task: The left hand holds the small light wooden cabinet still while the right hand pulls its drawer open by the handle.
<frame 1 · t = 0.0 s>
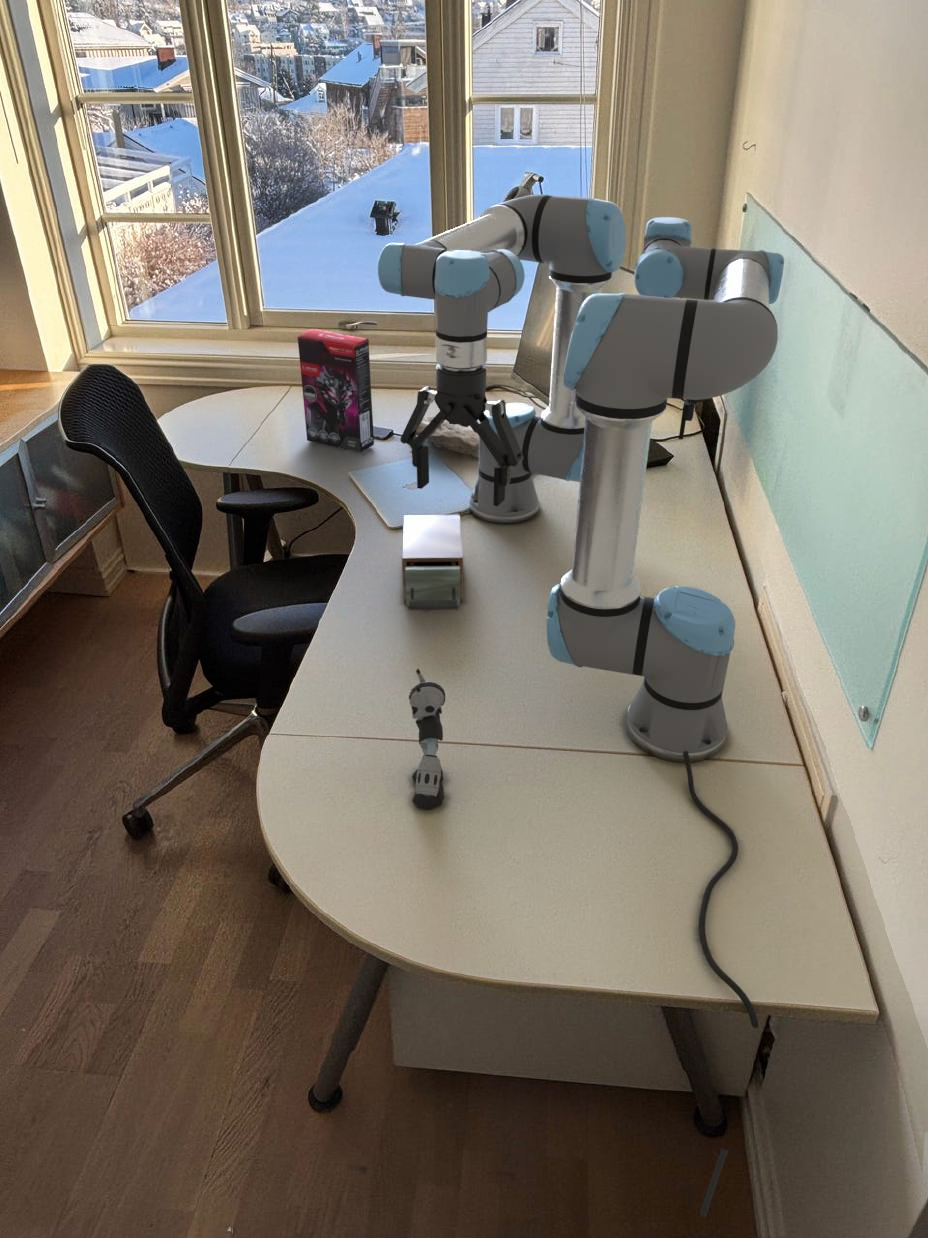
left hand: (460, 493, 148), 28 cm above the table, tool pointing down, fingers open, 13 cm apart
right hand: (643, 432, 170), 28 cm above the table, tool pointing down, fingers open, 13 cm apart
graphics card box: (340, 444, 234), on the table
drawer: (432, 574, 172), point 5 cm above the table, slide at 1.3 cm
stone: (448, 447, 233), on the table
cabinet: (432, 579, 180), on the table
robot: (428, 790, 132), on the table
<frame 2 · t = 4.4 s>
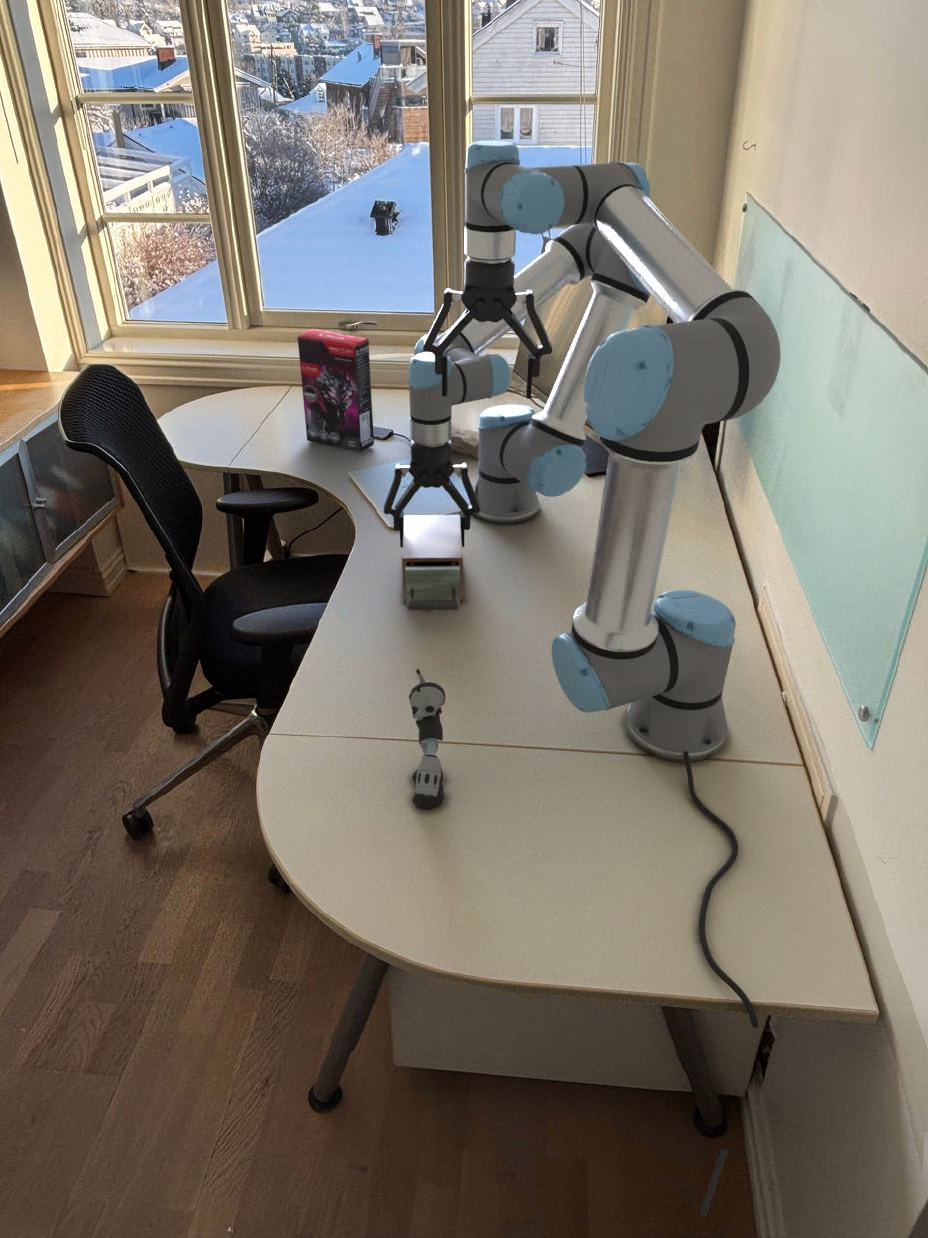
left hand: (432, 543, 182), 5 cm above the table, tool pointing down, fingers closed on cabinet, 11 cm apart
right hand: (486, 394, 150), 41 cm above the table, tool pointing down, fingers open, 13 cm apart
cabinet: (432, 579, 180), on the table, touching left hand
everything else where it was.
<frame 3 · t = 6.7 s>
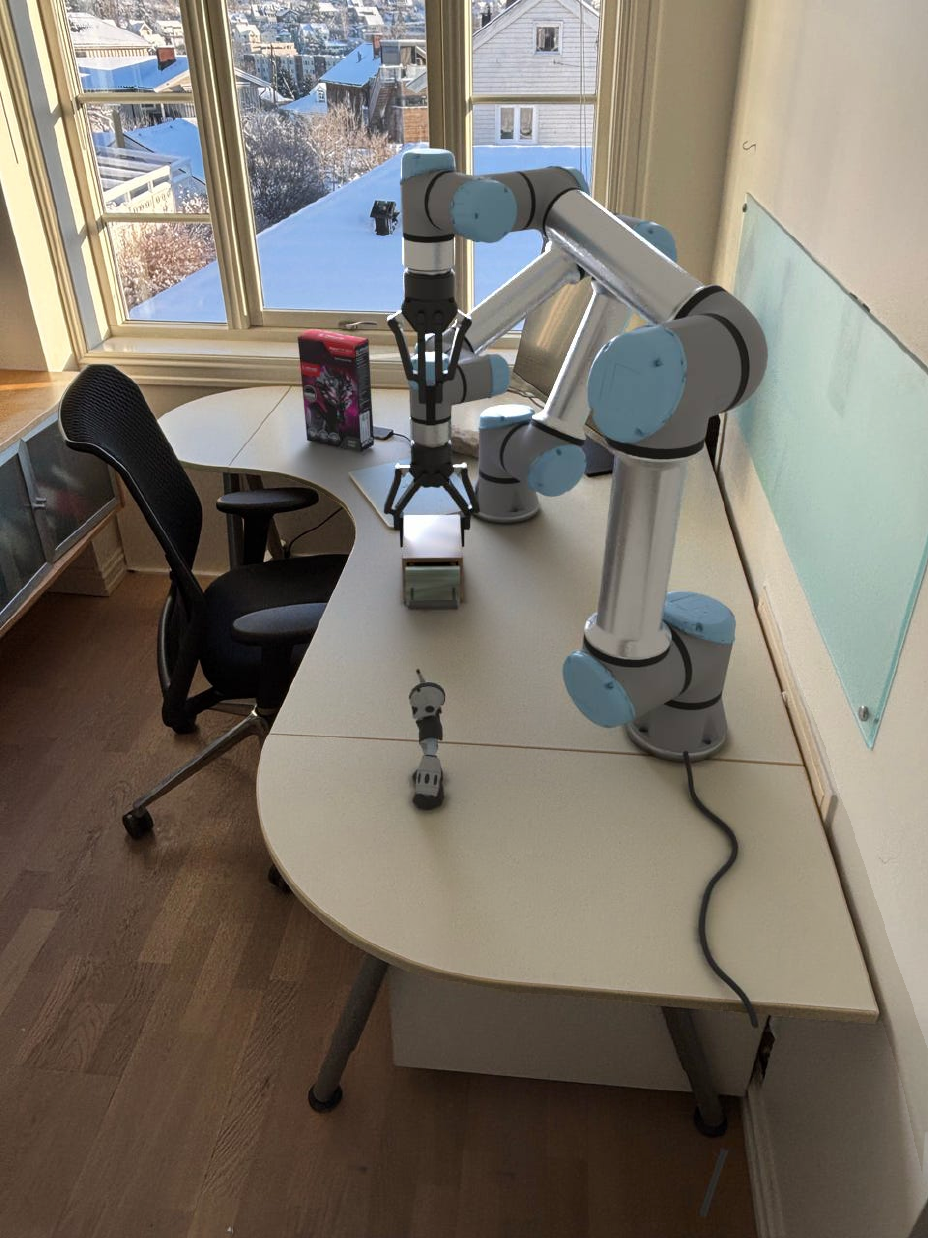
left hand: (432, 543, 182), 5 cm above the table, tool pointing down, fingers closed on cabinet, 11 cm apart
right hand: (430, 422, 147), 38 cm above the table, tool pointing down, fingers closed
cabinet: (432, 579, 180), on the table, touching left hand
everything else where it was.
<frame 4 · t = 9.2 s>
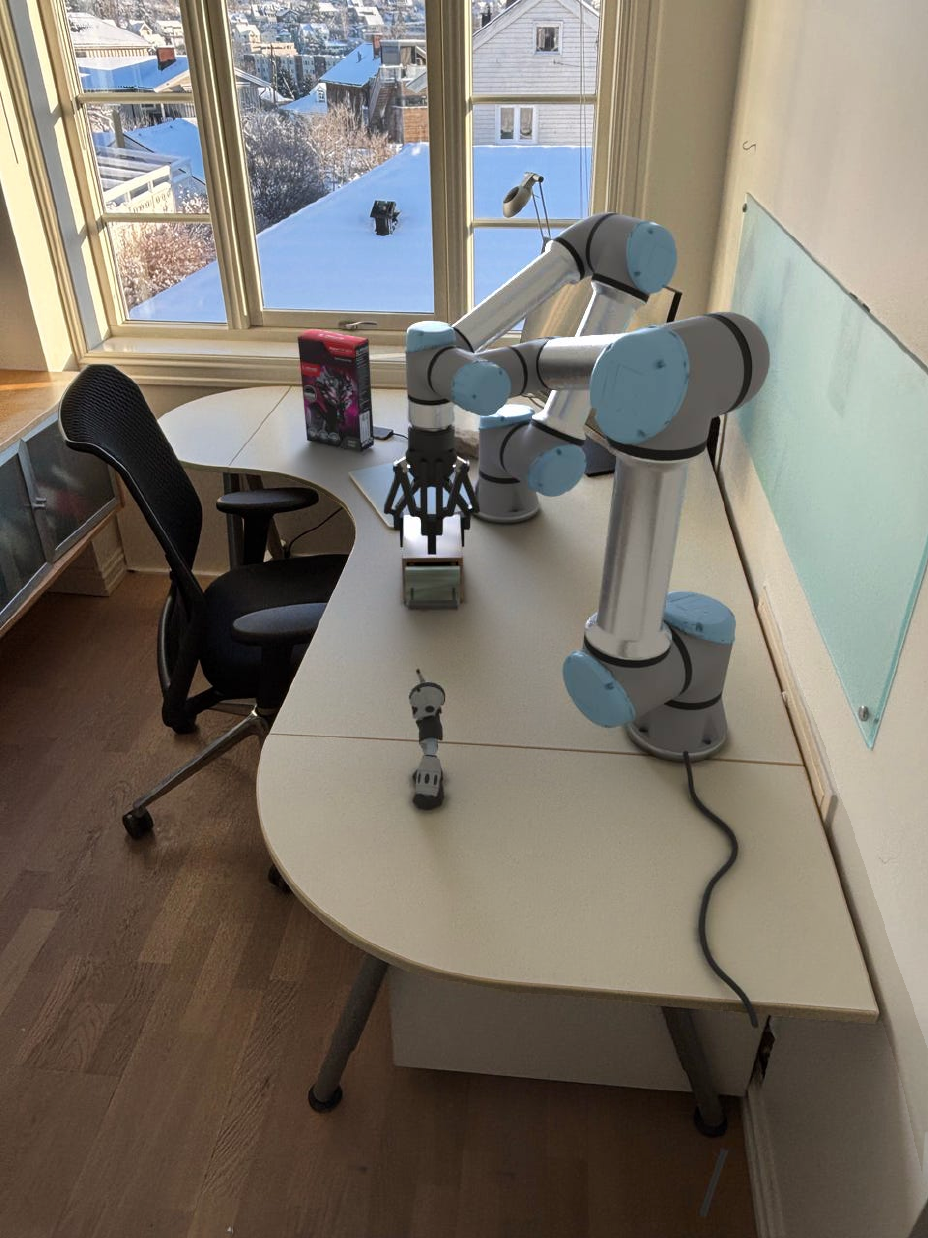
left hand: (432, 543, 182), 5 cm above the table, tool pointing down, fingers closed on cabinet, 11 cm apart
right hand: (431, 550, 160), 14 cm above the table, tool pointing down, fingers closed
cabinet: (432, 579, 180), on the table, touching left hand
everything else where it was.
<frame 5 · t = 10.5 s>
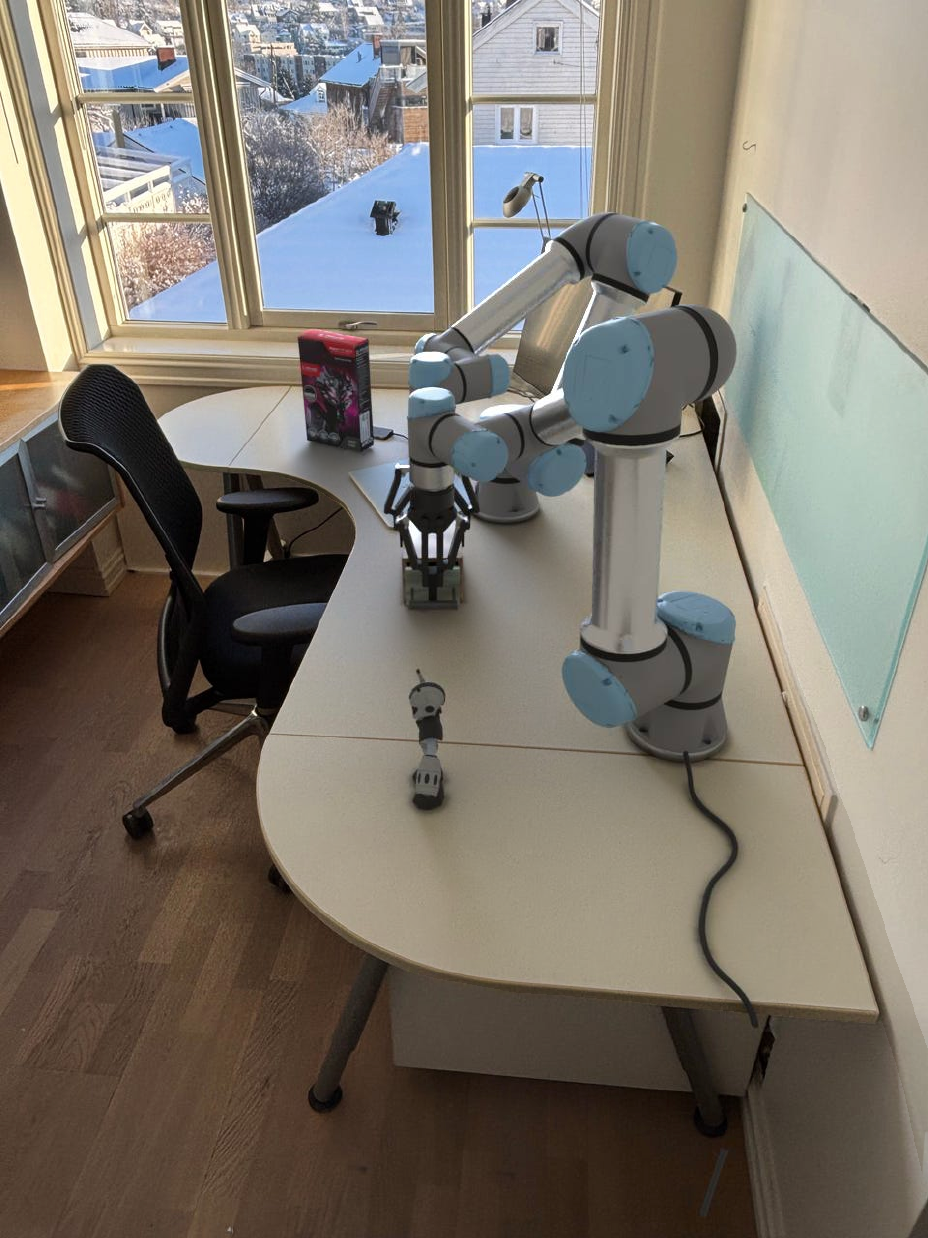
left hand: (432, 543, 182), 5 cm above the table, tool pointing down, fingers closed on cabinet, 11 cm apart
right hand: (432, 600, 166), 4 cm above the table, tool pointing down, fingers closed
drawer: (432, 574, 172), point 5 cm above the table, slide at 1.3 cm, touching right hand
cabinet: (432, 579, 180), on the table, touching left hand
everything else where it was.
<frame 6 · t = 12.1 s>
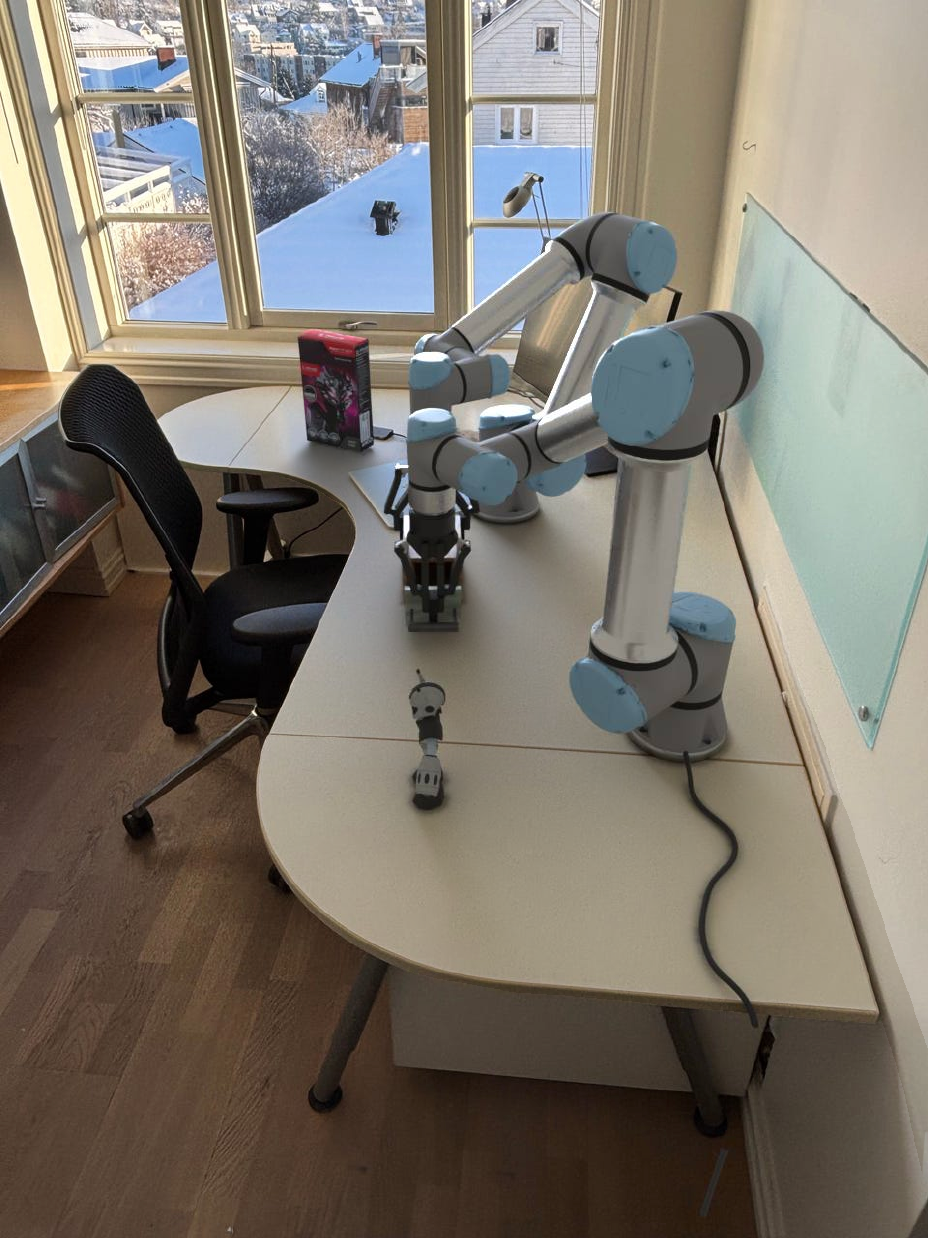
left hand: (432, 544, 182), 5 cm above the table, tool pointing down, fingers closed on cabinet, 11 cm apart
right hand: (433, 626, 161), 3 cm above the table, tool pointing down, fingers closed
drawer: (433, 594, 166), point 5 cm above the table, slide at 8.2 cm, touching right hand
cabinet: (432, 579, 180), on the table, touching left hand
everything else where it was.
when the left hand's fingers open (5 cm above the table, at t = 13.9 s): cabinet stays where it is, on the table.
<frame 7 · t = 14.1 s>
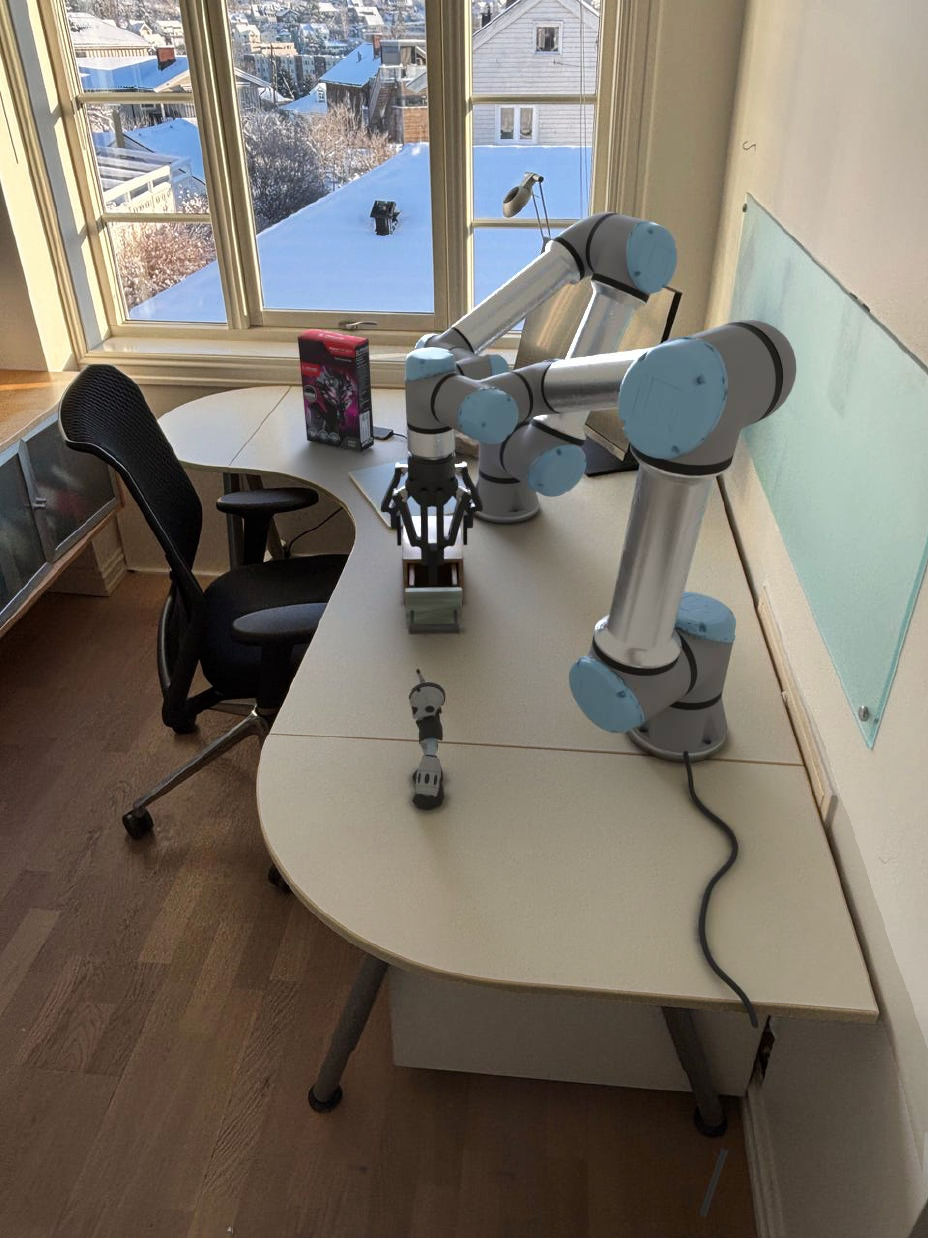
left hand: (432, 542, 182), 5 cm above the table, tool pointing down, fingers open, 12 cm apart
right hand: (432, 580, 156), 12 cm above the table, tool pointing down, fingers closed
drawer: (433, 595, 166), point 5 cm above the table, slide at 8.4 cm
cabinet: (432, 580, 180), on the table
everything else where it was.
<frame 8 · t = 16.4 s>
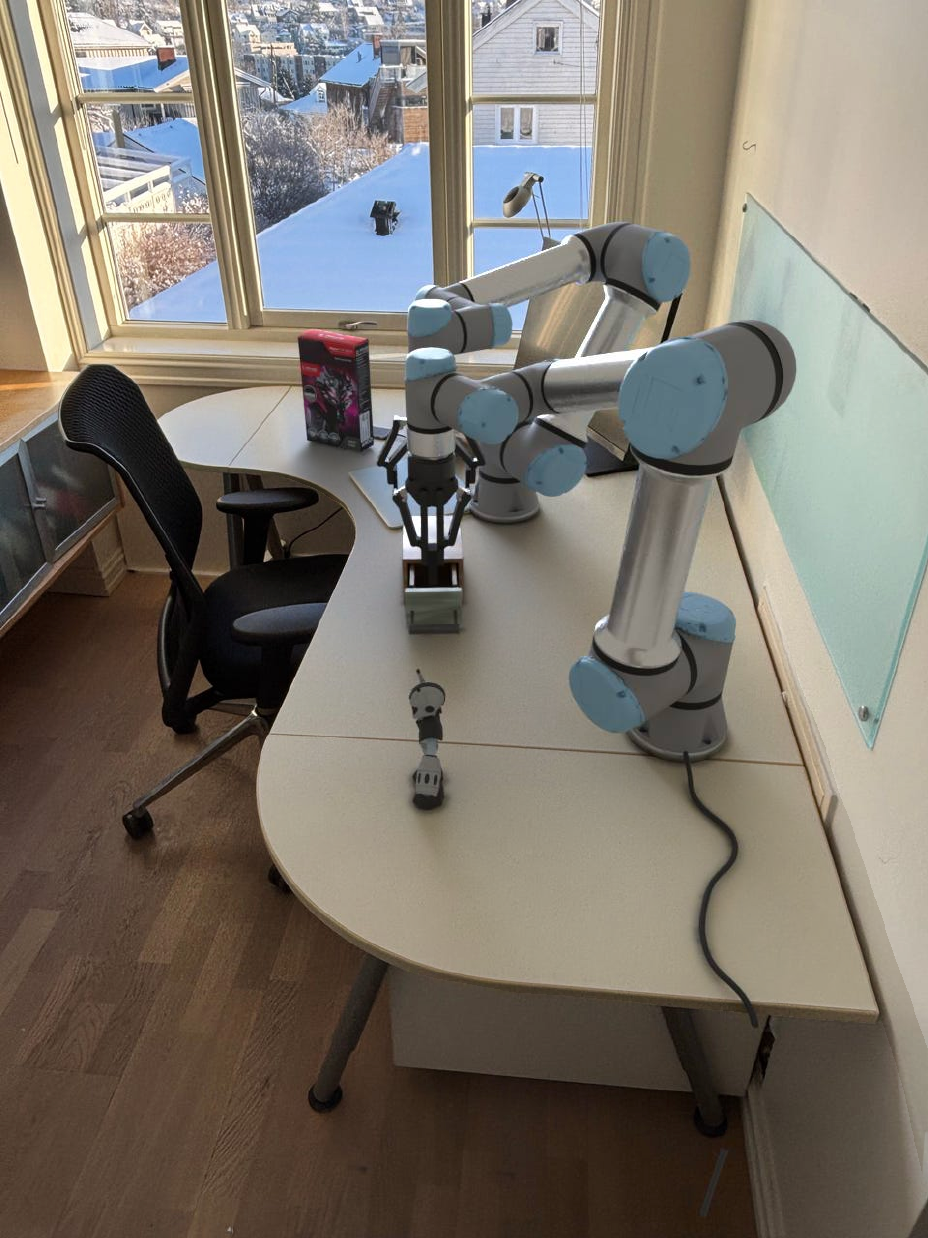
left hand: (431, 498, 176), 15 cm above the table, tool pointing down, fingers open, 13 cm apart
right hand: (432, 580, 156), 12 cm above the table, tool pointing down, fingers closed
nothing on the table moved.
at the end: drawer slide at 8.4 cm; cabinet tilted 0°; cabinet never tilted more than 2° during the clip; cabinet moved 0.4 cm from its start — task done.
